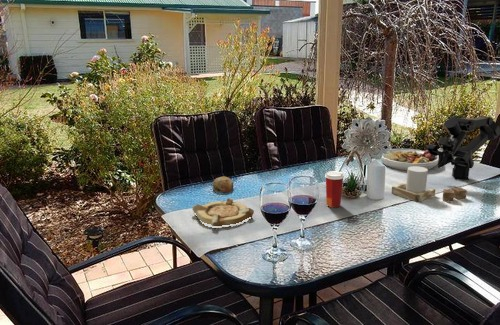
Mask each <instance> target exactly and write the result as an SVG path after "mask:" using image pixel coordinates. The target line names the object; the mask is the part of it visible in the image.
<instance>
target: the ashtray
mask: <svg viewBox="0 0 500 325" xmlns="http://www.w3.org/2000/svg"><path fill="white" fill-rule="evenodd" d="M192 211H193V214H194V213H196V215H197V217H196V218H197V219H200V220H201V221H202V222H204V223H207V224H211V225H212V226H222V225H230V224H236V223H239V222H242V221H243V220H245V219H247V218H249V217H252V218H253V215H254V214H255V210H254V209H252V208H250V207H248V206H246V205H245V204H242V203H240V202H235V201H233V199H232V198H229V197H227V198H226V200H225V201H223V200H219V201H218V200H217V201H212V202H208V203H206V204H204V205H202V204H198V203H197V204H195V205H194V206H192ZM200 220H199V221H200Z"/></svg>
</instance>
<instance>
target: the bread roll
mask: <svg viewBox="0 0 500 325" xmlns="http://www.w3.org/2000/svg"><path fill="white" fill-rule="evenodd" d="M212 189H213V191H214V192H215V191H216V192H215V193H224V192H225V193H231V192H232V191H233V189H234V181H233V180H232V179H231V178H230V177H227V176H220V177H217V178H215V179H214V180H213V182H212Z"/></svg>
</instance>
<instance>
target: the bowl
mask: <svg viewBox="0 0 500 325" xmlns="http://www.w3.org/2000/svg"><path fill="white" fill-rule="evenodd" d="M389 150H390V151H389V152H388V153H387V154H385V155H383V156H382V159H380V161H381V162H382V163H383V164H384V165H385V166H387V167H389V168H392V169H395V170H396V169H397V170H402V171H407V170H408V167H412V166H418V167H424V168H426V169H428V170H431V169H433V168H435V167H437V165H438V159H439V156H438V155H437V156H434V155H431V154H430V153H429V152H428V150H427V149H425V150H420V149H413V148H392V149H389Z"/></svg>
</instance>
